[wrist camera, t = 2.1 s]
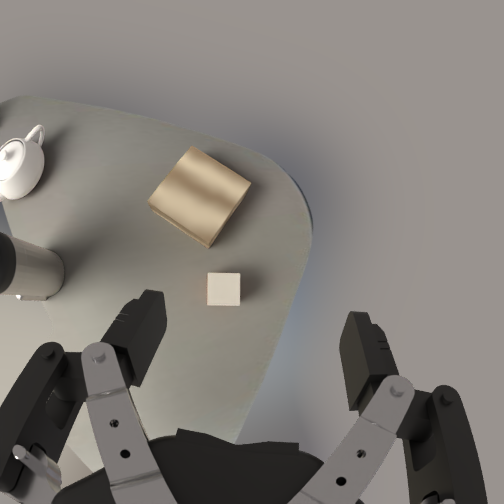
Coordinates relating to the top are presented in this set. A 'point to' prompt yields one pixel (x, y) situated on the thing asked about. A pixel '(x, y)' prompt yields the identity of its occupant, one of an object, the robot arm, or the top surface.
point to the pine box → (199, 196)
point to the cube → (223, 289)
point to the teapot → (21, 165)
